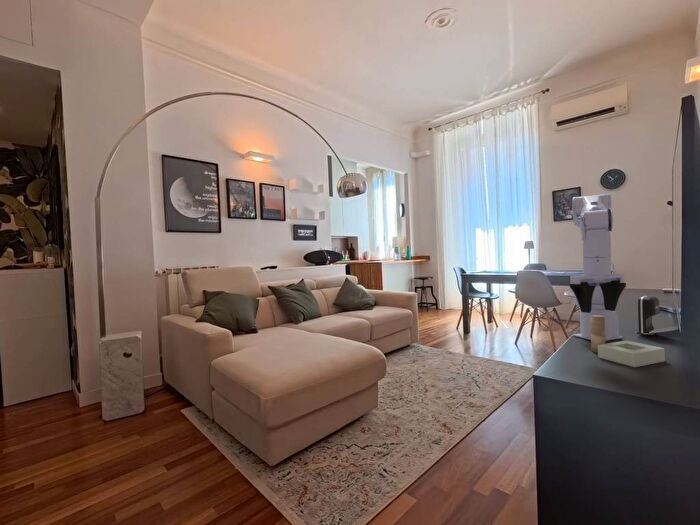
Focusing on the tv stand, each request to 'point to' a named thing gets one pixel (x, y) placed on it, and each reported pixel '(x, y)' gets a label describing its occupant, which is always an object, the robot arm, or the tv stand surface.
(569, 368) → the tv stand surface
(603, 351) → the hole block
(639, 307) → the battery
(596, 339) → the peg
